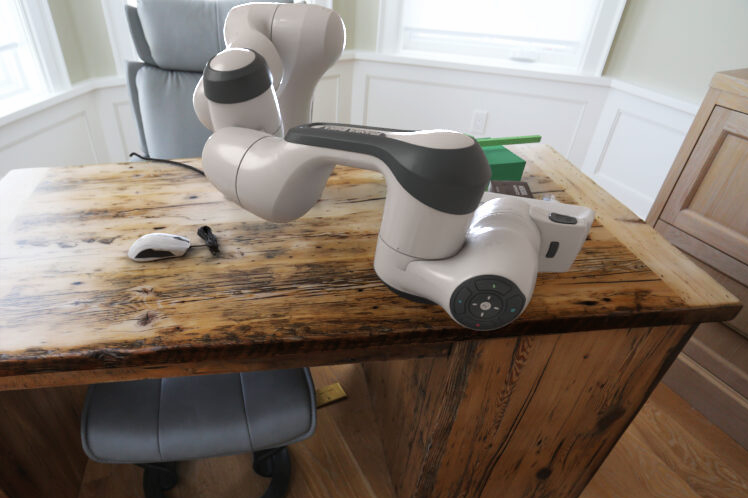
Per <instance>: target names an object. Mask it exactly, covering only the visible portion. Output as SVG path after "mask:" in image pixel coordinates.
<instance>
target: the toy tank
mask: <svg viewBox="0 0 748 498" xmlns="http://www.w3.org/2000/svg"><path fill="white" fill-rule="evenodd" d="M461 133H462V132H461ZM462 134H465V135H468V136H471V137H473V138H475V136H474V135H471V134H469V133H462ZM542 138H543V137H542V136H541V135H540V134H534V135H532V134H531V135H519V136H505V137H494V138H492V137H479V138H478V137H477V138H475V139H476V140H477V141H478V143H479V144H480V146H481V148H482V149H483V151H484V153H485V155H486V158H487V160H488V163H489V165H490V168H491V172H492V176H491V179H490V180H498V181H522V178H523V174H524V171H525V167H526V165H527V161H526V160H525V159H523V157H521V156H519V155H517V154H515V152H513V151H511V150H510V149H508V148H507V147H505V146H509V145H524V144H537V143H538V144H539V143H541V141H542ZM489 184H490V181H489V183H488V185H487V188H486V190H485V192H487V191H488V187H489Z"/></svg>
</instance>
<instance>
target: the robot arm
mask: <svg viewBox="0 0 748 498" xmlns="http://www.w3.org/2000/svg"><path fill="white" fill-rule="evenodd" d="M346 34H347V33H346V27H345V24H344V21H343V19H342V16H341V15H340V13H339V12H338V11H337V10H335V9H332V8H330V7H326V6H323V5H319V4H316V3H296V2H295V3H292V2H261V1H259V2H258V1H254V2H249V3H244V4H240V5H237V6H233V7H232V8H231V9H230V10H229V12H227V15H226V18H225V20H224V26H223V38H224V43H225V46H226V48H225V49H224V50H223V51H220V52H218V53H216V54H214V55H213V56H212V57H210V59H209V60H208V61H207V63H206V65H205V67H204V69H203V72H202V76H201V78H200V79H199V81H198V83H197V85H196V87H195V89H194V92H193V95H192V96H193V97H192V105H193V110H194V112H195V113H194V114H196V117H197V119H198V120H199V122H200V123H201V124H202V126H204V127H205V128H206V129H207V130H209V131H211V132H213V133H212V134H210V136H209V137H208V139H207V140H206V141H205V144H204V146H203V149H202V151H201V167H202V170H201V169H199V168H197V167H195V166H193V165H190V164H186V163H184V162H179V161H175V160H169V159H164V158H154V157H147V156H144V155H141V154H139V153H137V152H134V151H133V152H131V153H130V154H129V156H128V157H129V158H132V157H133V156H135V157H137V158H139V159H140V160H144V161H148V162H149V161H150V162H158V163H167V164H172V165H177V166H181V167H183V168H187V169H190V170H192V171H195V172H197V173H198V174H201V175H204V176H205V177H206V179H207V180H208V182H209V183H210V184H211V185H212V186H213V187H214V188H215V189H216V190H217V191H218V192H220V193H221V194H222V195H223V196H224V197H225V198H227V199H228V200H229V201H231V202H232V203H234V204H235V205H237V206H239V207H240V208H242V209H244V210H245V211H247V212H248V213H250V214H252V215H254V216H256V217H257V218H260V219H261V220H264V221H267V222H270V223H274V224H287V223H290V222H294V221H296V220H298V219H300V218H302V217H304V215H306V214H307V213H308V212H310V210H312V209H313V207H315V205H316V204H317V202H318V201H319V200H320V198H321V197H322V195H323V193H324V190H325V188H326V186H327V183H328V181H329V178H331V175H332V173H333V171H334V169H335V168H336V167H337V165H338V166H343V167H349V168H354V169H360V170H366V171H370V172H371V171H372V172H377V173H380V174H381V175H382V176H383V178H384V181H385V184H386V195H385V201H384V206H383V212H382V217H381V222H380V228H379V230H378V236H377V240H376V245H375V252H374V258H373V263H372V267H373V271H374V273H375V275H376V276H377V278H378V279H379V281H380V282H381V284H383V285H384V286H385V287H386V288H387V289H388V290H389V291H391V292H392V293H394V294H395V295H397V296H398V297H399V298H402V299H405V300H406V301H410V302H414V303H415V304H416V303H417V304H422V305H428V306H429V305H430V306H439V307H441V308H442V309H443V310H444V311H445V312H446V313H447V315H449V317H450V318H451V320H453V321H454V322H456V323H457V324H459V325H460V326H461V327H464V328H467V329H471V330H474V331H481V332H483V331H484V332H485V331H492V330H497V329H500V328H502V327H503V328H504V327H505V326H506V325H509V324H510V323H512V322H514V321H515V320H517V319H518V318H519V317H520V316H521V314H522V313H523V312H525V310H526V309H527V307H528V305H529V304H530V301H531V300H532V297H533V295H534V292H535V287H536V284H537V279H538V273H566V272H569V271H570V269H571V267H572V266H573V264H574V262H575V261H576V258H577V256H578V255H579V254H580V253H581V251H582V249H583V247H584V244H585V243H586V240H587V238H588V236H589V233H590V231H591V228H592V227H593V223H594V221H595V218H596V212H595V210H594V209H591V208H590V207H588V206H583V205H575V204H570V203H563V202H561V201H559V200H558V199H556V195H555V194H549V193H543V195H542V199H536V198H534V199H530V198H524V197H517V196H511V195H504V194H498V193H491V192H485V190H486V188H487V185H488V183H489V181H490V179H491V176H492V172H491V168H490V165H489V163H488V160H487V158H486V155H485V153H484V151H483V149H482V148H481V146H480V144H479V143H478V141H477V140H476V138H475V137H474V138H473V137H471V136H472V135H471V136H468V135H469V134H468V135H465V134H466V133H465V134H462V132H459V131H455V130H448V129H447V130H446V129H445V130H444V129H433V130H416V129H415V130H414V129H412V130H411V129H400V128H399V129H398V128H390V127H389V128H388V127H381V126H379V127H378V126H371V125H370V126H369V125H362V124H361V125H360V124H351V123H340V122H325V121H324V122H323V121H322V122H320V121H319V122H317V121H315V122H312V108H313V99H314V96H315V92H316V89H317V87H318V85H319V83H320V81H321V79H322V78H323V77H324V76H325V74H327V72H328V71H330V70H331V69H332V68H333V67H334V66H335V65H336V64H337V63H338V62H339V61H340V59H341V57H342V55H343V53H344V50H345V47H346V42H347V41H346V39H347V38H346V37H347V35H346Z"/></svg>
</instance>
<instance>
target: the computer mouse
mask: <svg viewBox="0 0 748 498" xmlns="http://www.w3.org/2000/svg"><path fill="white" fill-rule="evenodd" d="M196 234H197V235H196V236H198V237H199V238H201V239H202V240H203V241H204V242H205V244H196V245H192V243H191V240H190V239H189V238H188V237H187V236H184V235H180V234H174V233H165V232H164V233H163V232H153V233H147V234H145V235H142V236H140V237H139V238H138V239H136V240H135V241H134V242H133V244H132V245H131V246H130V248H129V250H128V251H127V257H128V258H129V259H131V260H132V261H134V262H152V261H156V260H161V259H167V258H175V257H183V255H184V254H186V252H187V251H188V250H189V249H192V248H202V247H207V248H208V250H209V252H210V253H211V255H212V256H213V257H215V256H217V254H219V253H220V252H221V250H220V247H219V246H220V245H221V244H220V243H218V238H217V236H216V234H214V233H213V229H212V228H211V227H210V226H208V225H203V226H201V227H199V228H198V229H197V232H196Z"/></svg>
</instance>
